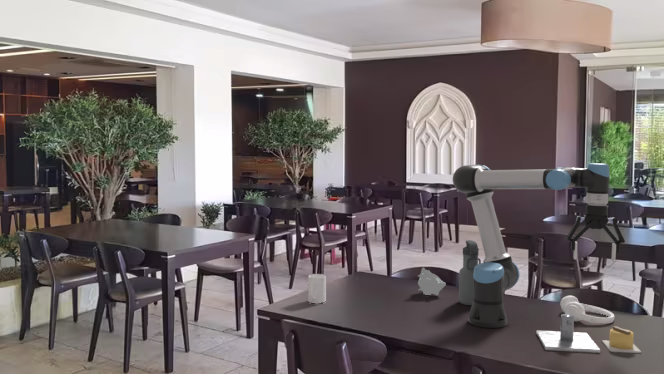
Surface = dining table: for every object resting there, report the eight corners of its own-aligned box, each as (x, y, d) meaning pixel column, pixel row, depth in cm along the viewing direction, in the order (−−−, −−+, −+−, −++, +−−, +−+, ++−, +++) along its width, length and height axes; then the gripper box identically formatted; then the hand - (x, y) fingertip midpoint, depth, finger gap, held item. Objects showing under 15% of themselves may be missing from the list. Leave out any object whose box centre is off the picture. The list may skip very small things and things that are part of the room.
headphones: (565, 323, 237) (619, 331, 233) (568, 303, 236) (622, 311, 232) (557, 309, 256) (606, 316, 252) (560, 291, 255) (609, 298, 251)
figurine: (448, 293, 284) (424, 283, 292) (448, 269, 276) (423, 259, 284) (436, 305, 277) (412, 294, 285) (436, 281, 270) (411, 270, 278)
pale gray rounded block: (301, 305, 263) (301, 279, 262) (311, 298, 274) (311, 273, 273) (318, 307, 260) (318, 280, 259) (328, 300, 271) (328, 274, 270)
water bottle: (484, 305, 262) (485, 243, 260) (462, 306, 261) (463, 243, 259) (476, 299, 272) (478, 239, 270) (456, 300, 271) (457, 239, 269)
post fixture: (545, 349, 207) (546, 322, 206) (536, 333, 225) (537, 307, 224) (599, 352, 204) (601, 324, 203) (586, 335, 222) (587, 309, 221)
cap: (604, 343, 212) (605, 327, 211) (620, 341, 214) (621, 324, 214) (621, 350, 205) (622, 333, 204) (638, 347, 207) (638, 331, 207)
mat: (610, 351, 205) (610, 349, 205) (602, 341, 215) (602, 340, 215) (641, 353, 204) (641, 351, 204) (631, 343, 214) (631, 341, 214)
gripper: (563, 204, 222) (560, 260, 223) (635, 206, 216) (632, 263, 218) (560, 202, 229) (557, 256, 231) (629, 204, 224) (626, 259, 225)
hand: (594, 260), depth 224 cm, fingers open, 13 cm apart
